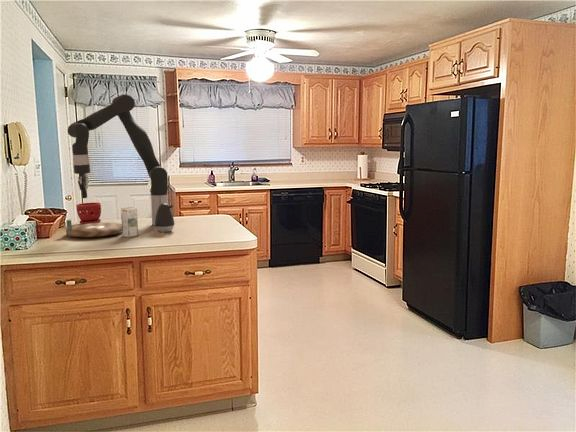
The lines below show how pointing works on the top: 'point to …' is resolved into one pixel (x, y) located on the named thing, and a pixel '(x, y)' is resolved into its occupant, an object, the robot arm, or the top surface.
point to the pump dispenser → (164, 218)
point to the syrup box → (129, 222)
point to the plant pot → (89, 212)
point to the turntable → (93, 229)
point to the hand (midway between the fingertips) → (84, 197)
